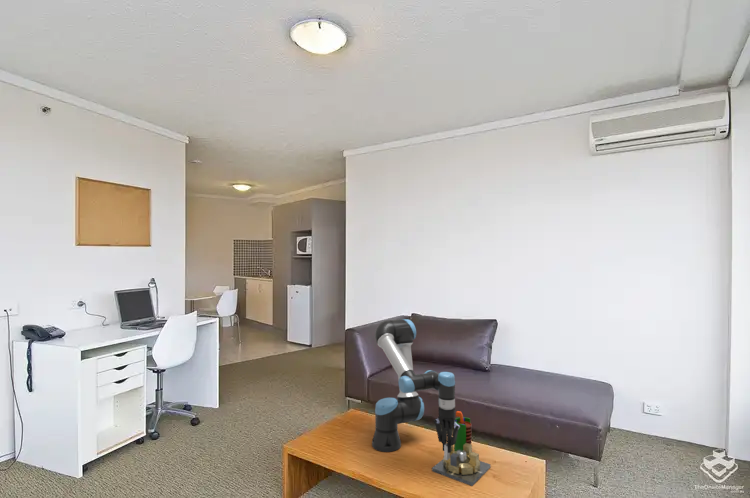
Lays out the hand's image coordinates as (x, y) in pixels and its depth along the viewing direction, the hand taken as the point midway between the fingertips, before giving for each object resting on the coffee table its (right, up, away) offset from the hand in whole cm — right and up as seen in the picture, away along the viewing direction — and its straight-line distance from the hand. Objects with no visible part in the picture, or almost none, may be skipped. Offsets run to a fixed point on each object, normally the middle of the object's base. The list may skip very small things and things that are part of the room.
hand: (447, 458), depth 189 cm
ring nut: (+7, -4, +2) cm, 9 cm away
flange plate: (+7, -6, +2) cm, 10 cm away
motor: (+11, -7, +19) cm, 23 cm away
